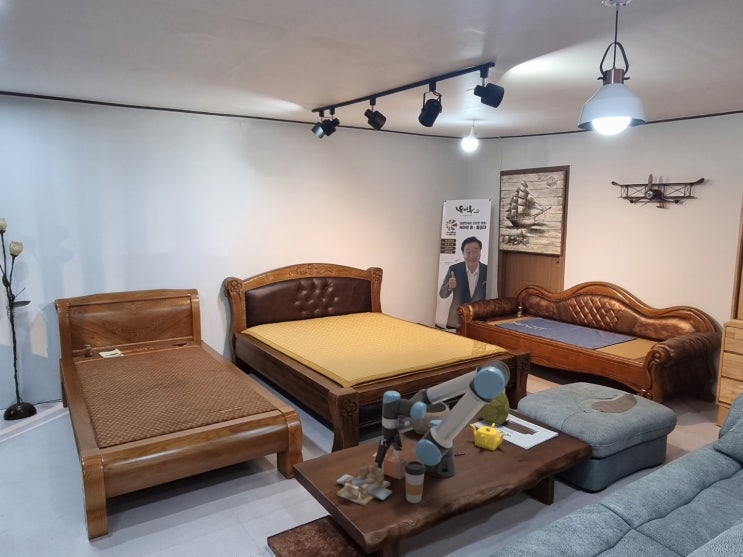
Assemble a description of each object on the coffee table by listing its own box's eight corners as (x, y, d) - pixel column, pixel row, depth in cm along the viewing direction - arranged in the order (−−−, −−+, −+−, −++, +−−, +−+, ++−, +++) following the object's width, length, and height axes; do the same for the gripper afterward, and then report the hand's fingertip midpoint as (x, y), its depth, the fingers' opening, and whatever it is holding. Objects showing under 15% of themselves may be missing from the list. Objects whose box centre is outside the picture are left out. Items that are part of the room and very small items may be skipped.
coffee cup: (402, 493, 219) (403, 460, 217) (421, 493, 220) (423, 460, 218) (405, 505, 211) (406, 470, 209) (425, 504, 212) (426, 470, 210)
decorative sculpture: (506, 428, 288) (508, 394, 285) (477, 423, 294) (479, 390, 291) (509, 418, 303) (512, 385, 301) (481, 413, 309) (483, 381, 306)
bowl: (405, 438, 273) (406, 411, 271) (409, 421, 295) (410, 395, 293) (450, 442, 269) (451, 415, 267) (450, 424, 292) (452, 399, 290)
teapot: (506, 450, 262) (507, 432, 261) (480, 452, 259) (481, 434, 258) (493, 437, 276) (494, 420, 275) (468, 440, 273) (469, 422, 272)
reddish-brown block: (377, 465, 243) (378, 451, 242) (405, 474, 235) (406, 460, 234) (371, 469, 239) (372, 455, 238) (400, 479, 231) (400, 464, 230)
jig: (399, 488, 224) (400, 475, 223) (374, 509, 207) (375, 495, 206) (354, 471, 237) (354, 459, 236) (327, 491, 220) (327, 477, 219)
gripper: (396, 414, 247) (394, 456, 249) (368, 432, 226) (366, 478, 229) (410, 418, 242) (408, 461, 245) (382, 437, 222) (380, 483, 225)
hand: (388, 469), depth 237 cm, fingers open, 13 cm apart
